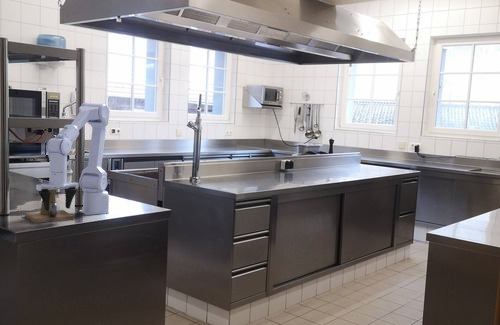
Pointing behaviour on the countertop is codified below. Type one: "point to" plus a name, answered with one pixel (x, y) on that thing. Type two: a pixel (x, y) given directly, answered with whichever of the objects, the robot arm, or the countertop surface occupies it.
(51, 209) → the steel dowel
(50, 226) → the countertop surface
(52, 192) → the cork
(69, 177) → the cup
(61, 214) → the board
